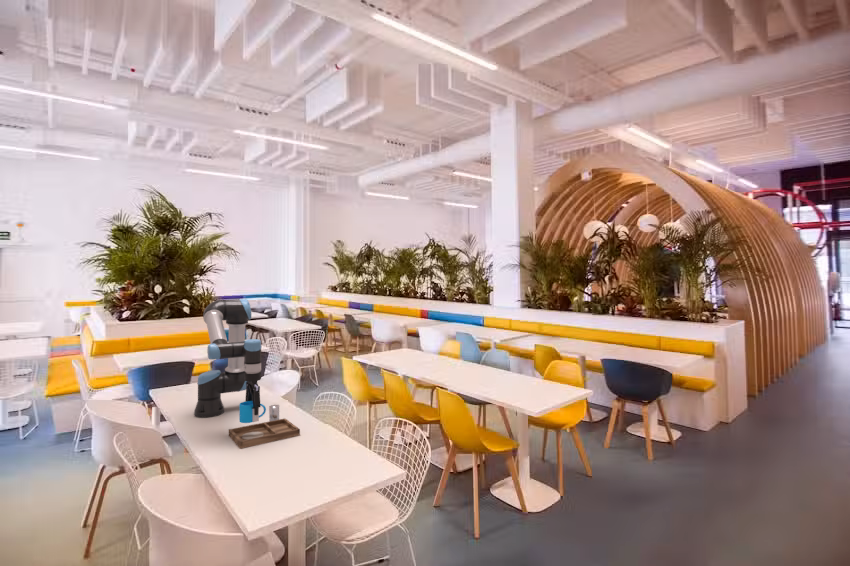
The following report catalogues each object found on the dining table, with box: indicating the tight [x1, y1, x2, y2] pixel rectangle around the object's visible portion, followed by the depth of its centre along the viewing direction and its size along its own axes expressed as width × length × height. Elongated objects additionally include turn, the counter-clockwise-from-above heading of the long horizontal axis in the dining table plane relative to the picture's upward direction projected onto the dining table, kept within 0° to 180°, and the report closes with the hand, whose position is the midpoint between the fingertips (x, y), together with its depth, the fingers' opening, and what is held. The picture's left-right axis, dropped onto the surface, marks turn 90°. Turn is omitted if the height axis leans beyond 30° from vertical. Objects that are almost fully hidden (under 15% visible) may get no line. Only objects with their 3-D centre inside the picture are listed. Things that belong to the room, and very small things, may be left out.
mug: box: [238, 400, 267, 424], centre depth 211 cm, size 12×8×8 cm
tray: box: [228, 417, 301, 450], centre depth 215 cm, size 20×28×3 cm
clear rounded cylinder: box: [268, 404, 280, 422], centre depth 233 cm, size 5×5×9 cm
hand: (252, 419), depth 212 cm, fingers closed on mug, 8 cm apart
